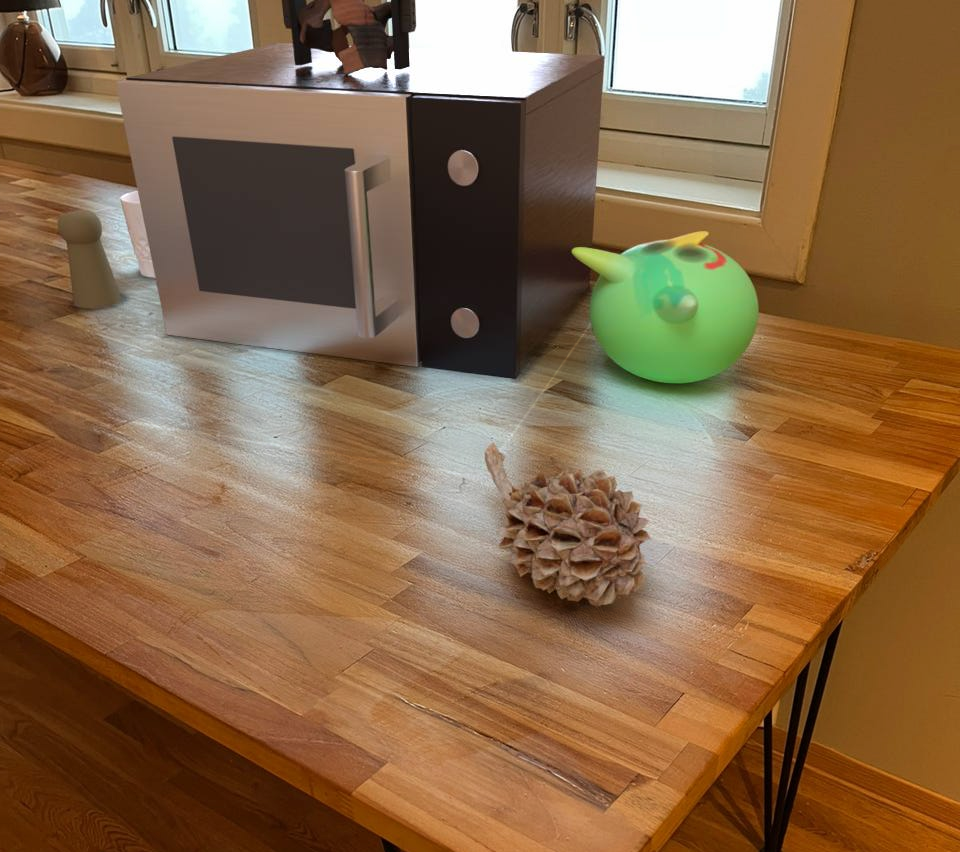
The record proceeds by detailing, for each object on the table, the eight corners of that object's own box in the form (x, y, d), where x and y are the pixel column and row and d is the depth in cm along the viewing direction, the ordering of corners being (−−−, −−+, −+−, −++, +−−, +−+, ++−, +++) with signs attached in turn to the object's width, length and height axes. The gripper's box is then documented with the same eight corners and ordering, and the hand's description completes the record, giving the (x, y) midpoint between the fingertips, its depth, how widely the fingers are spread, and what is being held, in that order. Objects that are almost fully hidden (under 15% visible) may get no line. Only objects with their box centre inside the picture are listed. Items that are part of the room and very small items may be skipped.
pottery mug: (321, 82, 101) (289, -1, 99) (321, 113, 110) (292, 37, 108) (427, 44, 102) (397, -40, 100) (418, 77, 111) (391, 2, 109)
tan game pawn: (130, 295, 129) (110, 207, 122) (108, 309, 124) (86, 219, 117) (88, 292, 130) (66, 205, 123) (65, 307, 125) (41, 217, 118)
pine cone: (681, 619, 70) (699, 498, 64) (571, 661, 66) (580, 537, 60) (520, 492, 85) (523, 385, 79) (424, 520, 81) (419, 410, 75)
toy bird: (774, 377, 106) (801, 237, 97) (682, 424, 96) (703, 274, 87) (644, 336, 116) (657, 205, 107) (549, 374, 106) (555, 235, 97)
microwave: (513, 382, 105) (518, 101, 88) (164, 337, 116) (111, 80, 100) (589, 285, 131) (604, 55, 115) (299, 256, 143) (275, 43, 126)
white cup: (204, 270, 137) (191, 195, 131) (155, 283, 133) (139, 206, 126) (173, 259, 141) (159, 186, 135) (125, 271, 137) (108, 196, 131)
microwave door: (393, 391, 103) (375, 108, 86) (132, 355, 111) (72, 91, 95) (422, 362, 109) (411, 94, 93) (174, 330, 117) (124, 79, 101)
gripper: (461, -197, 93) (464, 65, 106) (244, -190, 99) (273, 57, 112) (433, -203, 87) (440, 75, 100) (205, -196, 93) (240, 66, 106)
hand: (352, 66), depth 106 cm, fingers closed on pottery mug, 11 cm apart
